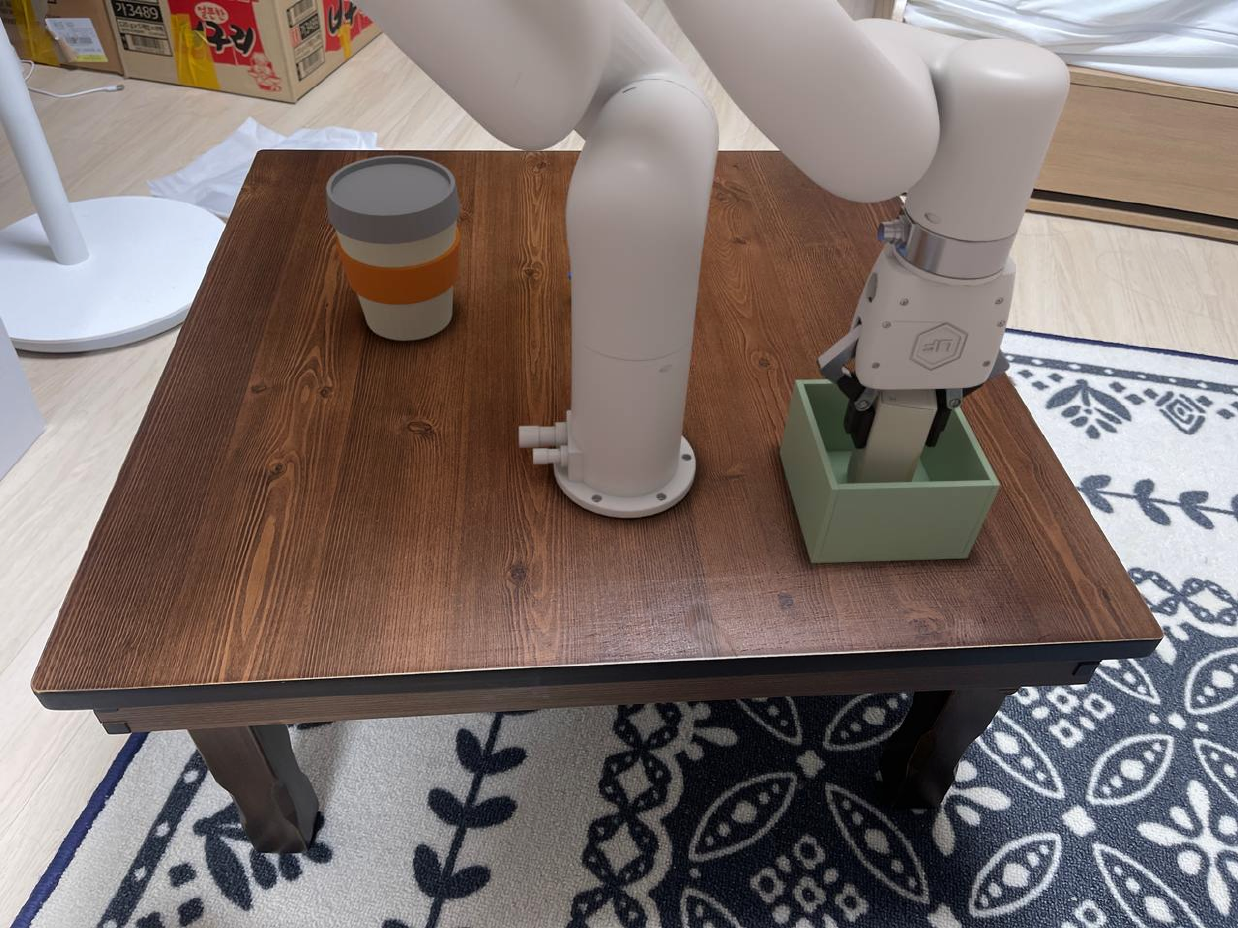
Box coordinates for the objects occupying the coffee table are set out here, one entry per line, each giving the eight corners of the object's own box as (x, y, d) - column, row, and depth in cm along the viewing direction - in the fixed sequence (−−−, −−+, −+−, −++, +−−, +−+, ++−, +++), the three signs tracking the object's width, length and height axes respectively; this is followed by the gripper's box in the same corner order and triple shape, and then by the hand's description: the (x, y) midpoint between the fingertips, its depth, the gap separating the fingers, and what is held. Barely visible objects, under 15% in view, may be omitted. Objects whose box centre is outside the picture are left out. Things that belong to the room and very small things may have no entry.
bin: (810, 563, 76) (831, 489, 70) (779, 453, 86) (795, 379, 80) (967, 558, 77) (1000, 485, 71) (918, 450, 87) (944, 377, 81)
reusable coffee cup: (324, 314, 98) (296, 182, 88) (419, 270, 105) (403, 142, 95) (398, 367, 92) (377, 232, 82) (493, 316, 99) (485, 186, 89)
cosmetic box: (898, 523, 78) (940, 413, 70) (845, 515, 79) (880, 404, 70) (894, 472, 83) (933, 363, 74) (844, 464, 83) (877, 355, 75)
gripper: (844, 269, 60) (796, 471, 73) (1097, 267, 61) (1008, 466, 74) (818, 211, 65) (778, 408, 78) (1051, 210, 67) (975, 405, 79)
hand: (890, 434), depth 76 cm, fingers closed on cosmetic box, 5 cm apart
